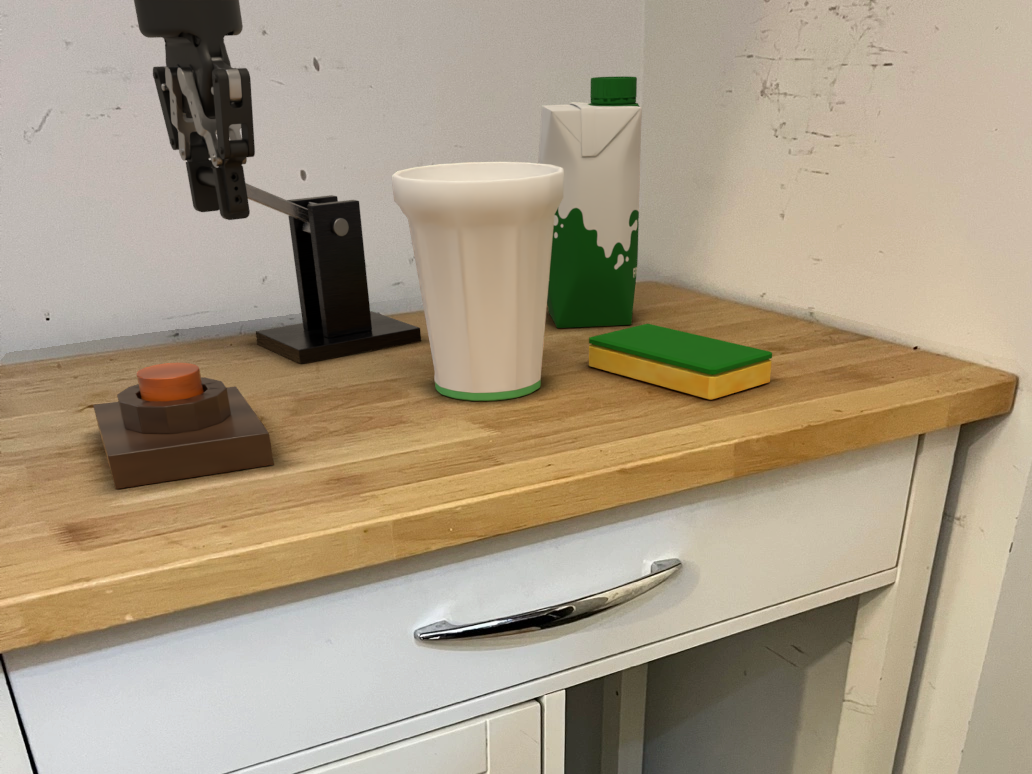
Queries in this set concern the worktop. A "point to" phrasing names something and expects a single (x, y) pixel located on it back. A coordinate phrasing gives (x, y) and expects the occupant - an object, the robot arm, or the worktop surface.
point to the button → (169, 382)
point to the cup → (483, 270)
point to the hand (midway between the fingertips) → (221, 213)
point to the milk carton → (595, 204)
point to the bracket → (333, 290)
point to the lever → (261, 198)
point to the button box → (181, 435)
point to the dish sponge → (680, 360)
